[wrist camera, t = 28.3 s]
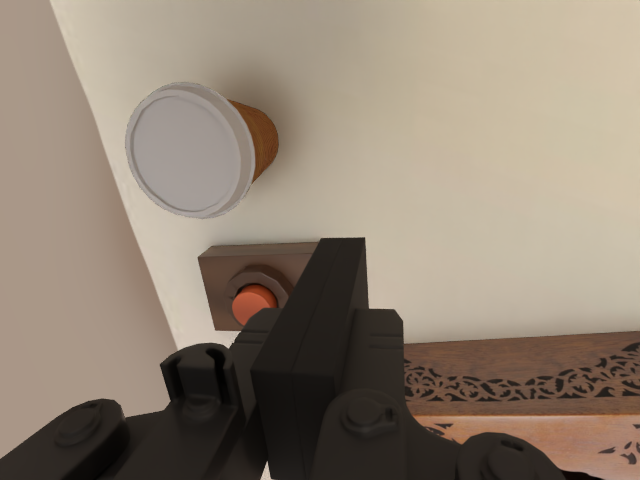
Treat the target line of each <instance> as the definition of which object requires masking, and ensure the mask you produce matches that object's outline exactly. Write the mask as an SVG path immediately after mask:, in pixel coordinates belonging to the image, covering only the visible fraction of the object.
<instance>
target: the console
mask: <svg viewBox="0 0 640 480" xmlns="http://www.w3.org/2000/svg"><path fill="white" fill-rule="evenodd" d="M318 243H319V242H311V243H285V244H259V245H233V246H211V247H210V248H209V249H208V250H206V251H205V252H204V253H202V254H201V255H200V256H198V261H199V266H200V270H201V274H202V278H203V282H204V286H205V290H206V294H207V299H208V303H209V307H210V311H211V315H212V319H213V323H214V327H215V330H216V331H241V330H242V328H243V327H244V325H243V324H241V323H240V322H239V321H238V320H237V319H236V317H235V316H234V313H233V309H232V305H233V301H234V299H235V298H236V297H237V295H238V294H239V293H240V292H241V291H242V289H243V288H245V287H246V286H248V285H252V284H257V285H262V286H264V287H266V288H267V289H269V290H270V291H271V292H272V293H273V295H274V296H275V299H276V302H277V308H284V306H285V304H286V302H287V300H288V298H289V296H290V295H291V293H292V291H293V289H294V287H295V285H296V284H297V282H298V280H299V278H300V276H301V274H302V273H303V271H304V269H305V267H306V265H307V263H308V261H309V260H310V258H311V256H312V254H313V252H314V250H315V249H316V247H317V245H318Z"/></svg>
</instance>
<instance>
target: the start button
mask: <svg viewBox="0 0 640 480" xmlns="http://www.w3.org/2000/svg"><path fill="white" fill-rule="evenodd" d="M262 308H277V302H276V299H275V296H274V295H273V293H272V292H271V291H270V290H269V289H267V288H266V287H264V286H262V285H257V284H252V285H248V286H246V287H245V288H243V289H242V291H241V292H240V293H239V294H238V295H237V297H236V298H235V299H234V301H233V305H232V309H233V313H234V316H235V317H236V319H237V320H238V321H239V322H240V323H241V324H243V325H245V324H246V322H247V321H248V319H249V318H250V317H251V316H253V315H254V314H255V313H257V312H258V311H260V310H261V309H262Z"/></svg>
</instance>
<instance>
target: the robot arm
mask: <svg viewBox="0 0 640 480" xmlns="http://www.w3.org/2000/svg"><path fill="white" fill-rule="evenodd" d="M234 341H235V342H234V343H232V345H231V346H230V348H229V349H228V348H227V347H225V346H224V345H221V344H216V343H201V344H196V345H192V346H189V347H186V348H183V349H181V350H179V351H177V352H175V353H174V354H172V355H170V356H169V357H168V358H167V359H166V360H164V361H163V362H162V363H161V364H160V367H161V370H162V374H163V377H164V380H165V384H166V387H167V390H168V394H169V397H170V400H171V402H170V403H169V405H168V406H167V407H166V408H165V410H163V411H159V412H153V413H148V414H143V415H137V416H131V417H126V418H125V416H124V413H123V411H122V408H121V405H119V404H118V403H117V402H116V401H115V400H109V399H98V400H92V401H88V402H85V403H83V404H80V405H77V406H75V407H72V408H71V409H69V410H68V411H66V412H64V413H63V414H61V415H59V416H58V417H56V418H55V419H54V420H52V421H51V422H50V423H48V424H47V425H46V426H44V427H43V428H42V429H40V430H39V431H38V432H36V433H35V434H33V435H32V436H31V437H29V438H28V439H27V440H25V441H24V442H23V443H21V444H20V445H19V446H17V447H16V448H15V449H13V450H12V451H10V452H9V453H8V454H7V455H5V456H4V457H2V458H1V459H0V480H260V479H261V476H262V474H263V471H264V468H265V465H266V462H267V461H268V466H269V471H270V477H271V479H274V480H566V478H565V477H564V475H563V474H562V472H561V471H560V470H559V468H558V467H557V466H556V465H555V464H554V463H553V462H552V461H551V460H550V459H549V458H548V457H547V455H546V454H545V453H544V452H542V451H541V450H539V449H538V448H536V447H535V446H533V445H532V444H530V443H528V442H527V441H525V440H523V439H520V438H518V437H515V436H512V435H509V434H506V433H496V432H484V433H480V434H477V435H474V436H470V437H469V438H468V439H467V440H466V441H465V442H464V443H463V444H460V443H457V442H454V441H452V440H449V439H446V438H444V437H441V436H439V435H437V434H435V433H433V432H431V431H429V430H428V429H426V428H425V427H424V426H422V425H421V424H420V423H418V421H417V420H416V419H415V418H414V417H413V416H412V415H411V413H410V411H409V409H408V407H407V404H406V399H405V376H404V338H403V320H402V319H401V318H400V316H399V315H398V314H397V312H396V311H395V310H394V309H369V304H368V284H367V265H366V245H365V237H364V238H321V239H320V241H319V243H318V245H317V247H316V249H315V250H314V252H313V254H312V256H311V258H310V260H309V261H308V263H307V265H306V267H305V269H304V271H303V273H302V274H301V276H300V278H299V280H298V282H297V284H296V285H295V287H294V289H293V291H292V293H291V295H290V296H289V298H288V300H287V302H286V304H285V306H284V308H262V309H261V310H260V311H258V312H257V313H255V314H254V315H253V316H251V317H250V318H249V319H248V321H247V322H246V324H245V325H244V327H243V328H242V330H241V332H240V333H239V334H238V336H237V337H236V339H235V340H234Z"/></svg>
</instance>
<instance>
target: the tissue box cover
mask: <svg viewBox="0 0 640 480" xmlns="http://www.w3.org/2000/svg"><path fill="white" fill-rule="evenodd" d="M404 376H405V399H406V404H407V407H408V409H409V411H410V413H411V415H412V416H413V417H414V418H415V419H416V420H417V421H418V423H420V424H421V425H422V426H424V427H425V428H426V429H428V430H429V431H431V432H433V433H435V434H437V435H439V436H441V437H444V438H446V439H449V440H452V441H454V442H457V443H460V444H463V443H464V442H465V441H466V440H467V439H468V438H469V437H470V436H474V435H477V434H480V433H484V432H496V433H506V434H509V435H512V436H515V437H518V438H520V439H523V440H525V441H527V442H528V443H530V444H532V445H533V446H535V447H536V448H538V449H539V450H541V451H542V452H544V453H545V454H546V455H547V457H548V458H549V459H550V460H551V461H552V462H553V463H554V464H555V465H556V466H557V467H558V468H559V470H560V471H561V472H562V474H563V475H564V477H565V478H566V480H640V331H636V332H618V333H599V334H581V335H563V336H545V337H527V338H509V339H490V340H472V341H454V342H436V343H418V344H404Z"/></svg>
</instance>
